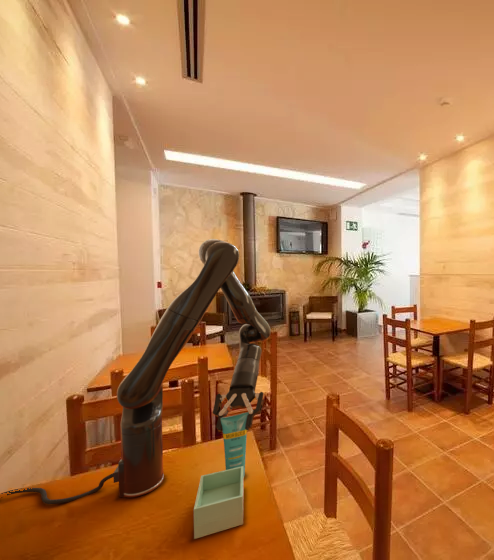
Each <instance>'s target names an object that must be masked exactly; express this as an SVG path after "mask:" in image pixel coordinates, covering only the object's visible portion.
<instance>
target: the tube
mask: <svg viewBox="0 0 494 560" xmlns="http://www.w3.org/2000/svg"><path fill="white" fill-rule="evenodd" d="M247 415H249V412H248V411H247V412H242V413H238V414H233V415H229V416H226V417H224V418H221V424H222V438H223V439H222V440H223V450H224V463H225V470H228V469H232V468H236V467H241V466H243V479H244V478H245V475H246V455H247V454H246V453H247V452H246V451H247V436H248V435H247V434H248V430H246V429H245V425H246V420H247Z"/></svg>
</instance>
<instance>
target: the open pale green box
mask: <svg viewBox="0 0 494 560" xmlns="http://www.w3.org/2000/svg"><path fill="white" fill-rule="evenodd" d="M244 483H245V482H244V478H243V466H241V467H236V468H232V469H228V470H226V469H224V470H220V471H219V470H218V471H216V472H212V473H207V474H202V475H200V479H199V483H198V484H199V485H198V488H197V493H196V498H195V500H194V501H195V502H194V507H193V540H196V539H199V538H203V537H206V536H209V535H213V534H215V533H219V532H222V531H226V530H228V529H232V528H235V527H238V526H242V525H244V491H245V489H244V488H245V487H244V485H245V484H244Z"/></svg>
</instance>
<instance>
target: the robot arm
mask: <svg viewBox="0 0 494 560" xmlns="http://www.w3.org/2000/svg"><path fill="white" fill-rule="evenodd" d="M197 252H198V258H199V260H200V261H201V263H202V264H203V266H202V268H201V270H200V272H199V274H198V275H197V277H196V278H195V279H194V280H193V282H192V283H190V284H189V286H187V288H185V289H184V290H183V291H181V292H180V293H179V294H178V295H177V296H175V298H174V299H173V300H171V302H170V304H169V305H168V306H167V308H166V310H165V311H164V313H163V315H162V316H161V317H160V319H159V322H158V323H157V326H156V327H155V329H154V331H153V333H152V335H151V337H150V339H149V341H148V343H147V346H146V348H145V350H144V352H143V353H142V355H141V357H140V358H139V360H138V361H137V363H136V364H135V365H134V367H132V369H131V370H130V372H128V373H127V374H126V375H125V377H124V378H123V379H122V380H121V382H120V383H119V385H118V387H117V390H116V399H117V402H118V404H119V405H120V407H122V413H121V417H120V418H121V419H120V425H119V426H120V428H119V429H120V430H119V431H120V460H119V461H118V464H117V467H116V468H115V470H114V471H113V472H112V473H111V474H109V475H106V476H105V477H103V478H102V479H101V480H100V481H99V482H98V486H96V487H95V488H93V489H91V490H89V491H87V492H83V493H81V494H78V495H74V496H70V497H66V498H58V499H57V498H56V499H49V498H48V494H47V493H48V492H47V491H46V489H45V488H43V487H26V488H27V490H25V489H24V490H23V491H20V490H19V491H15V492H10V491H13V490H18V489H19V488H15V489H11V490H7V491H4V492H2V493H0V494H3V493H7V492H9V493H11V494H7V496H10V495H15V494H22V493H23V494H25V493H39V494H40V497H41V501H42V503H43V504H45V505H59V504H60V505H61V504H65V503H69V502H73V501H76V500H78V499H82V498H83V497H86V496H89V495H92V494H94V493H97V492H98V491H100V490H101V489H102V488H103V487H104V484H105V482H106V481H108V480H110V479H113V483H115V484H116V483H118V498H128V499H129V498H131V499H132V498H137V497H142V496H144V495H147V494H149V493H151V492H153V491H154V490H156V489H158V488H159V487H160V486H161V485H162V483H163V482H164V480H165V477H164V476H165V475H164V446H163V412H164V411H163V408H164V380H165V377H166V375H167V374H168V372H169V370H170V368H171V366H172V364H173V362H174V361H175V360H176V359H177V357H178V356H179V354H180V353H181V352H182V350H183V349H184V348H185V346H186V345H187V343H189V341H190V340H191V338H192V336H193V335H194V334H195V331H196V330H197V329H198V327H199V325H200V323H201V321H202V320H203V317H204V316H205V314H206V313H207V310H208V309H209V307H211V304H212V302H213V300H214V299H215V297H216V296H217V294H218V292H219V291H220V290H221V292H222V294H223V295H224V297H225V299H226V302H227V303H228V306H229V307H230V310H231V311H232V313H233V316H234V318H235V319H236V321H237V322H238V323H239V324H242V326H241V327H240V328H239V330H238V340H239V352H238V355H237V360H236V364H235V366H234V368H233V369H234V370H233V373H232V377H231V381H230V385H229V388H228V392H227V393H226V394H220V393H217V394H216V395H215V400H214V405H213V410H212V414H213V415H214V416H215V417H216V418H217V422H216V426H215V428H216V429H217V431H218V433H223V431H222V424H221V418H224V417H227V416H228V414H229V413H231V412H232V410H233V409H234V410H235V409H245V408H246V410H247V412H249V415H247V420H246V425H245V429H246V430H247V431H250V429H251V428H252V427H253V422H254V418H255V416H258V415H261V414H262V411H263V406H264V402H265V398H266V397H265V394H264V392H263V391H260V392H256V387H257V383H258V378H259V374H260V373H259V372H260V362H261V358H262V352H263V351H262V347H261V346H260V345H258V344H254V343H259V342H266V341H268V339H270V336H271V334H272V330H271V326H270V324H269V323H268V321H267V320H266V319H265V318H264V317H263V316H262V315H261V313H260V312H258V310H257V308H256V305H255V303H254V301H253V299H252V297H251V296H250V294H249V292H248V291H247V289H246V288H245V286H244V285H243V284H242V282H241V281H240V280H239V278H238V276H237V275H236V273H235V271H234V270H235V269H236V267H237V266H238V263H239V261H240V251H239V249H238V248H237V246H235V245H234V244H232V243H230V242H228V241H224V240H221V239H218V238H210V239H206V240H204V241H203V242H202V243H201V244H200V245H199V248H198V251H197ZM255 399H256V401H257V402H256V405H255V409H253V406H252V404H251V403H252V402H253V401H254V400H255ZM226 400H227V401H226ZM225 401H226V403H225V404H224V405H223V403H224V402H225ZM222 405H223V408H222ZM29 488H30V489H29ZM31 488H32V489H31ZM2 498H3V497H1V498H0V499H2Z"/></svg>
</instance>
